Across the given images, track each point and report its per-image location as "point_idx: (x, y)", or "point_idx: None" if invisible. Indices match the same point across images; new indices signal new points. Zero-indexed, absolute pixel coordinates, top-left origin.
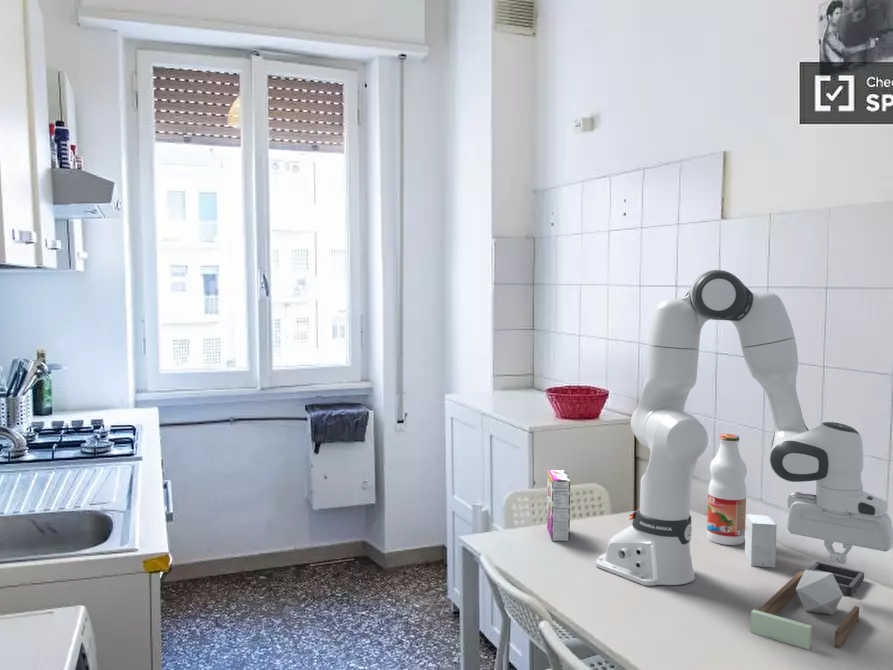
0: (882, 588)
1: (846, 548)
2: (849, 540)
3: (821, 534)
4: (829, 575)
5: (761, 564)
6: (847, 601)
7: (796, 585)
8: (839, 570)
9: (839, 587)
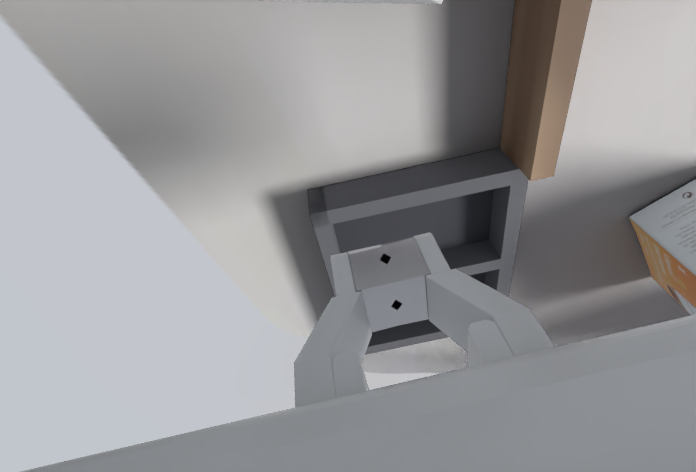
0: (283, 327)
1: (327, 361)
2: (283, 465)
3: (645, 393)
4: None
5: (691, 188)
6: (290, 130)
7: (536, 17)
8: (424, 326)
9: (358, 195)
